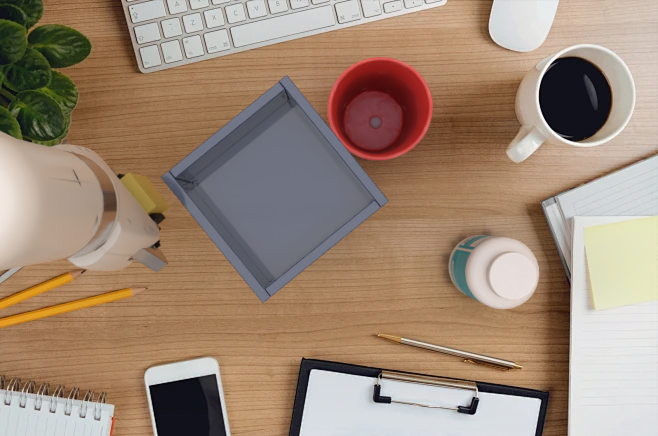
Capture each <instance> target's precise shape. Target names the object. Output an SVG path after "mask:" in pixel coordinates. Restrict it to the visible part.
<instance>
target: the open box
mask: <svg viewBox="0 0 658 436" xmlns="http://www.w3.org/2000/svg"><path fill="white" fill-rule="evenodd" d="M160 179H161V180H162V181H163V182H164V183H165V185H166V186H167V187H168V189H169V190H170V191H171V192H172V193H173V194H174V196H175V197H176V198H177V200H178V201H179V202H180V203H181V205H183V207H184V208H185V209H186V211H187V212H188V213H189V215H190V216H191V217H192V218H193V220H194V221H195V222H196V223H197V224H198V225H199V226H200V228H201V229H202V231H204V233H205V234H206V235H207V236H208V238H209V239H210V240H211V241H212V243H213V244H214V245H215V247H216V248H217V249H218V250H219V251H220V253H221V254H222V255H223V256H224V258H226V260H227V261H228V263H230V265H231V266H232V267H233V268H234V270H235V271H236V273H238V275H239V276H240V277H241V279H242V280H243V281H244V282H245V283H246V285H247V286H248V287H249V288H250V290H251V291H252V292H253V293H254V295H256V297H257V298H258V299H259V301H260V302H261V303H262V304H264V303H265V302H267V301H268V300H270V298H271V297H273V296H274V295H275V294H277V293H278V292H279V291H281V290H282V289H283V288H284V287H285V286H286V285H288V284H289V283H291V281H293V280H294V279H296V278H297V277H298V276H299V275H300V274H301V273H303V272H304V271H305V270H306V269H307V268H308V267H310V266H311V265H312V264H314V263H315V262H316V261H317V260H318V259H320V258H321V257H322V256H323V255H325V254H326V253H327V252H328V251H330V250H331V249H332V248H334V247H335V246H336V245H337V244H338V243H339V242H341V241H342V240H343V239H344V238H345V237H347V236H348V235H350V233H352V232H353V231H354V230H356V229H357V228H358V227H359V226H360V225H362V224H363V223H365V221H366V220H368V219H369V218H370V217H372V216H373V215H374V214H376V213H377V212H378V211H379V210H380V209H381V208H383V207H384V206H385V205H386V204H387V203H389V201H390V200H389V199H388V198H387V196H386V195H385V194H384V192H382V190H381V189H380V188H379V187H378V185H377V184H376V183H375V181H374V180H373V179H372V178H371V177H370V176H369V174H368V173H367V171H366V170H365V169H364V168H363V167H362V165H361V164H360V163H359V162H358V161H357V159H356V158H355V157H354V155H353V154H351V153H350V152H349V151H348V150H347V148H346V147H345V146H344V145H343V143H342V142H341V141H340V140H339V138H338V137H337V136H336V135H335V133H334V132H333V131H332V130H331V128H330V125H329V124H327V122H326V121H325V120H324V119H323V117H322V116H321V115H320V113H318V111H317V110H316V109H315V108H314V106H313V104H311V103H310V101H309V100H308V99H307V98H306V96H305V95H304V94H303V93H302V91H301V90H300V89H299V88H298V86H297V85H296V84H295V82H293V80H292V79H291V78H290V76H289V75H288V74H286V75H285V76H283V77H282V78H280V79H279V81H277V82H276V83H275V84H273V85H272V86H271V87H270V88H268V90H266V91H265V92H263V94H261V95H260V96H259V97H257V98H256V99H255V100H254V101H252V102H251V103H250V104H248V105H247V106H246V107H245V108H243V110H241V111H240V112H238V114H236V115H235V116H234V117H233V118H231V119H230V120H229V121H228V122H226V123H225V124H224V125H223V126H221V127H220V128H219V129H218V130H217V131H215V132H214V133H213V134H212V135H210V136H209V137H208V138H207V139H206V140H204V141H203V142H202V143H200V144H199V145H198V146H197V147H196V148H195V149H193V150H192V151H191V152H190V153H188V154H186V156H185V157H183V158H182V159H181V160H180V161H178V162H177V163H175V165H173V166H172V167H171V168H170V169H169V170H167V171H166V172H165V173H164V174H162V175H161V176H160Z"/></svg>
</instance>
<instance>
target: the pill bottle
mask: <svg viewBox="0 0 658 436" xmlns="http://www.w3.org/2000/svg"><path fill="white" fill-rule="evenodd" d="M448 274H449V277H450V280H451V282H452V284H453V285H454V287H455V288H456V289H457V290H458V291H460V292H461V293H462V294H464V295H466V296H467V297H469V298H471V299H473V300H475V301H477V302H479V303H481V304H483V305H485V306H487V307H489V308H492V309H497V310H510V309H514V308H517V307H520V306H521V305H523V304H525V302H527V301H528V300H529V299H530V298H531V297H532V296H533V294H534V293H535V291H536V289H537V287H538V284H539V279H540V267H539V262H538V260H537V257H536V256H535V254H534V253H533V251H532V250H531V249H530V247H528V246H527V245H526V244H525V243H523V242H522V241H520V240H518V239H516V238H512V237H507V236H498V235H488V234H487V235H486V234H475V235H472V236H471V235H470V236H467V237H465V238H464V239H462V240H461V241H460V242H458V243H457V244H456V245H455V247H454V248H453V249H452V251H451V253H450V255H449V258H448Z"/></svg>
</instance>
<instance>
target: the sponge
mask: <svg viewBox="0 0 658 436" xmlns="http://www.w3.org/2000/svg"><path fill="white" fill-rule="evenodd" d="M124 175H125V176H124V177H122V178H121V179H120V181H121V182H122V183H123V184H124V186H125V187H126V188H127V189H128V190H129V192H130V193H131V194H132V195H133V197H134V198H135V199H136V200H137V202H138V203H139V204H140V205H141V206H142V208H143V209H144V210H145V211H146V213H147V214H148V215H150V214H156V213H160V214H163V215H164V213H165V212H167V211H168V210H169V209H170V208H171V205H170V203H168V201H167V200H166V199H165V198H164V197H163V195H162V194H161V192H159V190H158V189H157V188H156V187H155V186H154V184H153V183H152V182H151V181H150V179H149V178H148V177H147V175H142V174H137V173H134V172H133V173H132V172H127V173H126V174H124Z"/></svg>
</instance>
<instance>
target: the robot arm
mask: <svg viewBox="0 0 658 436" xmlns="http://www.w3.org/2000/svg"><path fill="white" fill-rule="evenodd" d="M125 175H126V174H124V173H118V174H116V172H115V171H114V170H113V168H112V167H110V166H109V165H108V164H107V163H106V161H105V160H104V159H103V158H102V157H101V156H100V155H99V154H98V153H97V152H95V151H94V150H93V149H90V148H89V147H86V146H82V145H77V144H73V143H72V142H70V140H68V139H66V140H64V141H63V142H61V143H60V144H55V145H52V146H48V145H44V144H40V143H35V142H31V141H27V140H23V139H19V138H15V137H14V136H11V135H9V134H7V133H6V132H3V131H2V130H0V272H2V271H6V270H12V269H17V268H23V267H27V266H28V267H29V266H34V265H38V264H43V263H49V262H56V261H62V260H66V259H67V261H69V262H70V263H71V264H72V265H73V266H75V267H77V268H80V269H84V270H88V271H93V272H114V271H115V272H116V271H121V270H124V269H126V268H127V267H129V266H130V265H132V264H133V263H134V262H135V260H136V261H137V262H139V263H140V264H142V265H144V266H145V267H147V268H148V269H150V270H151V271H154V272H155V273H159V272H160V271H161V270H163V269H164V268H165V267H167V266H168V265H169V261H168V259H167V258H166V256H165V254H164V253H163V250H161V248H160V247H161V246H162V245H161V240H160V239H161V238H160V237H161V230H162V228H161V226H160V224H161V223H162V222H163V221H164V220H166V216H165V215H164V213H163V214H160V213H156V214H150V215H148V214H147V213H146V211H145V210H144V209H143V208H142V206H141V205H140V204H139V203H138V202H137V200H136V199H135V198H134V197H133V195H132V194H131V193H130V192H129V190H128V189H127V188H126V187H125V186H124V184H123V183H122V182H121V181H120V179H121V178H122V177H124V176H125Z"/></svg>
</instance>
